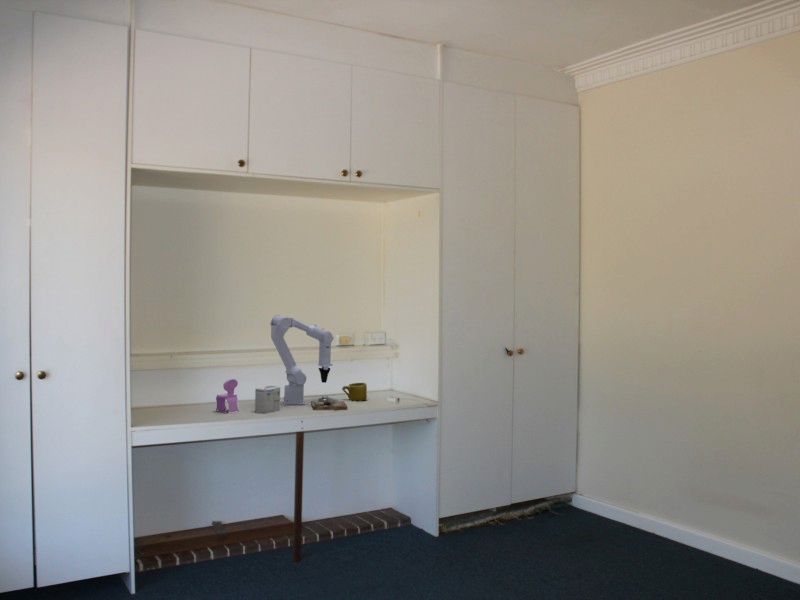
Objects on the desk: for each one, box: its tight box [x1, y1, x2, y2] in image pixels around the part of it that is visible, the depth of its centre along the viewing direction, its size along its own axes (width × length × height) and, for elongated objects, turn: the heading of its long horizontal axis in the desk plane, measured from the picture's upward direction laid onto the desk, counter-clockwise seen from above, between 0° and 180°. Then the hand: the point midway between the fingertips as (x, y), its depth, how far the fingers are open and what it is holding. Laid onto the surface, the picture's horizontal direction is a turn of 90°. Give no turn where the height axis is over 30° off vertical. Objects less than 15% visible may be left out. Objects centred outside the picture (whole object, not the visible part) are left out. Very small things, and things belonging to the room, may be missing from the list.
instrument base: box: [310, 400, 348, 411], centre depth 360 cm, size 16×14×3 cm
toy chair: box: [215, 378, 240, 414], centre depth 342 cm, size 8×9×15 cm
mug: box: [341, 382, 368, 402], centre depth 383 cm, size 12×10×10 cm
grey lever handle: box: [318, 395, 339, 405], centre depth 357 cm, size 13×6×3 cm, turn 39°
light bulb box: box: [254, 385, 281, 414], centre depth 347 cm, size 11×7×11 cm, turn 152°
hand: (324, 382), depth 375 cm, fingers closed
